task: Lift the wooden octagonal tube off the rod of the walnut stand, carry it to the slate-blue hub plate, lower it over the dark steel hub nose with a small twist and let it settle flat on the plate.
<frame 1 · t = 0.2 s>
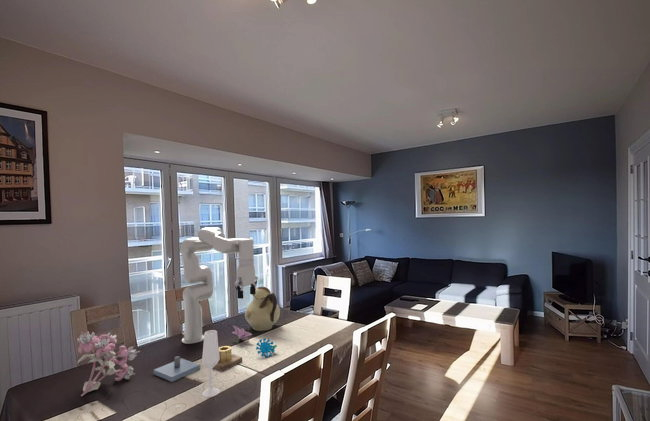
hand: (246, 296, 164), 30 cm above the table, tool pointing down, fingers open, 9 cm apart
champagne flute: (211, 392, 128), on the table
rod stand: (224, 363, 155), on the table
pitcher: (263, 328, 207), on the table
flower: (111, 383, 137), on the table
gear: (266, 355, 164), on the table
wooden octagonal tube: (224, 359, 155), point 2 cm above the table, touching rod stand
hub plate: (177, 371, 147), on the table
lily: (241, 342, 183), on the table
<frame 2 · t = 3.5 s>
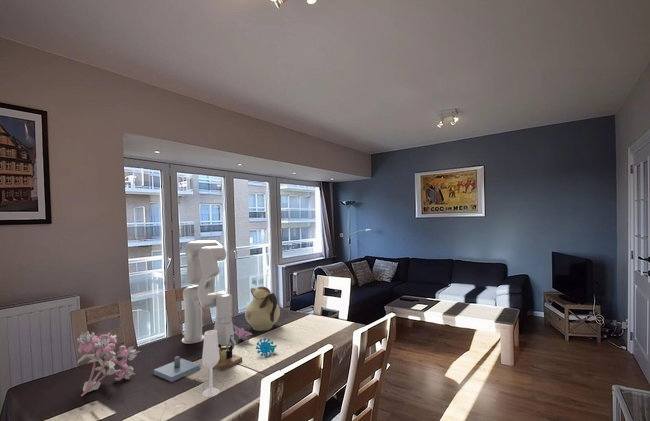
hand: (224, 356, 155), 3 cm above the table, tool pointing down, fingers closed on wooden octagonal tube, 6 cm apart
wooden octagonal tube: (224, 359, 155), point 2 cm above the table, touching gripper, rod stand
everything else where it was.
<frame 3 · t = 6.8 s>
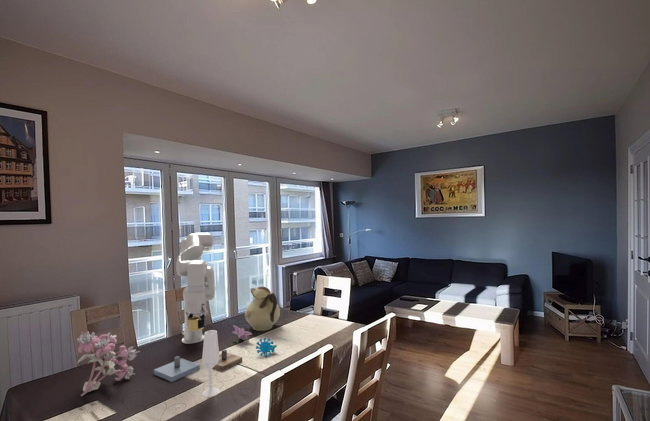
hand: (196, 326, 151), 20 cm above the table, tool pointing down, fingers closed on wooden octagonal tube, 6 cm apart
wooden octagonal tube: (196, 328, 151), point 18 cm above the table, touching gripper
everything else where it was.
when the fingers open (4 cm above the table, at t = 10.3 s): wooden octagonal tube drops 1 cm, resting on hub plate.
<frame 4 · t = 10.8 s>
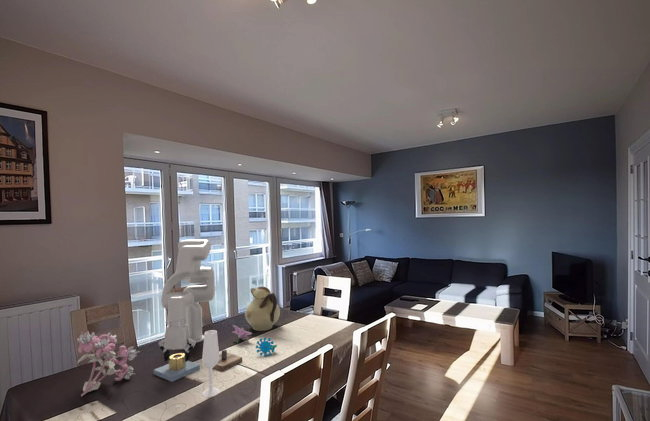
hand: (177, 360, 147), 5 cm above the table, tool pointing down, fingers open, 9 cm apart
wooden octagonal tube: (177, 367, 147), point 2 cm above the table, touching hub plate
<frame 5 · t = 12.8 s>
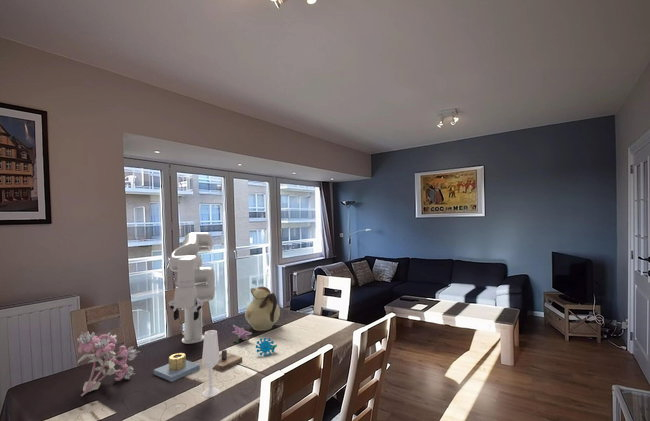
hand: (186, 319, 154), 22 cm above the table, tool pointing down, fingers open, 9 cm apart
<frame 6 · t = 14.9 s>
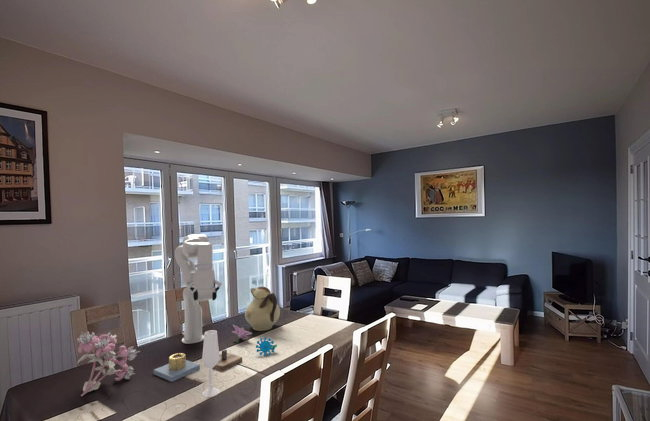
hand: (205, 299, 167), 28 cm above the table, tool pointing down, fingers open, 9 cm apart
at the end: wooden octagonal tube 0.1 cm off-centre on the hub plate, point 2.0 cm above the hub plate's base; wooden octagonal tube tilted 0° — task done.
